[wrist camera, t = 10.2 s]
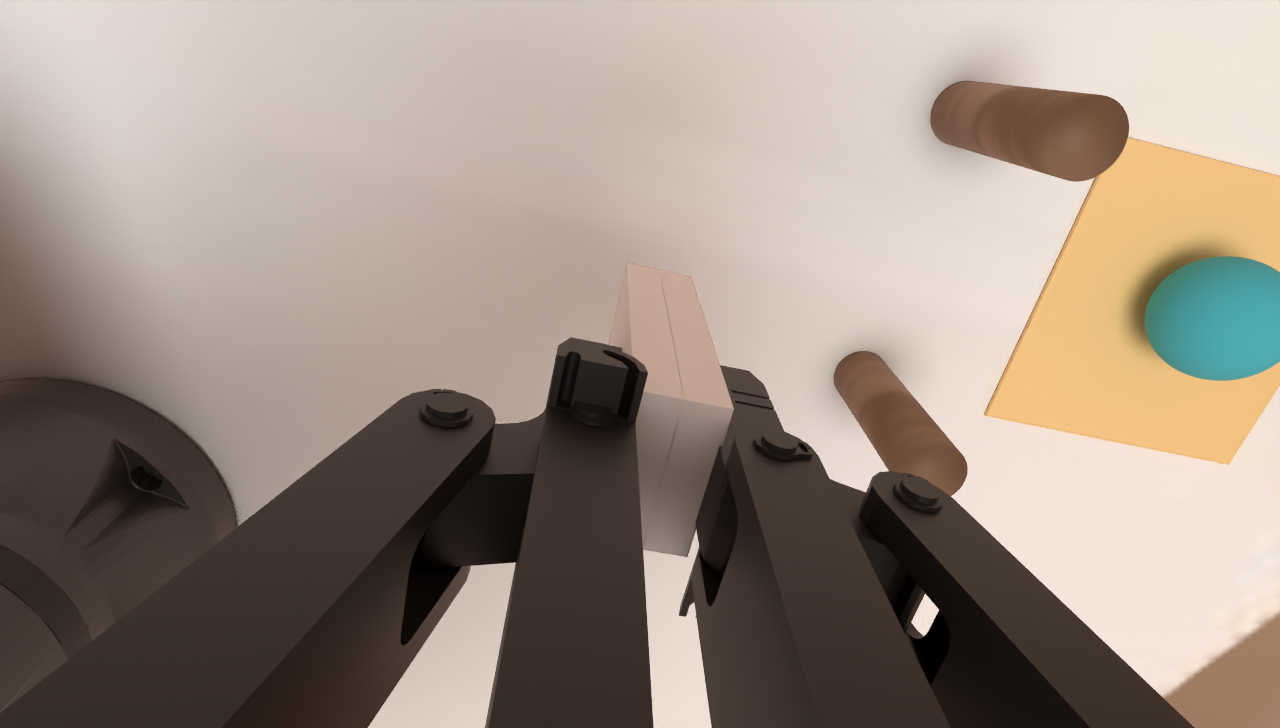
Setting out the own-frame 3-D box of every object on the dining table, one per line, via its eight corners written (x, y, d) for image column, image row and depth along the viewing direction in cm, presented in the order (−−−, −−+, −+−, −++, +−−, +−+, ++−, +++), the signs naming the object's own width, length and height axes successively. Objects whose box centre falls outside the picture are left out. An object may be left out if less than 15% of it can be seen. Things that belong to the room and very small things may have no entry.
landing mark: (1225, 462, 39) (1228, 464, 38) (984, 414, 37) (986, 416, 37) (1390, 205, 33) (1395, 206, 33) (1116, 134, 31) (1119, 135, 31)
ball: (1279, 417, 30) (1134, 373, 32) (1237, 373, 35) (1113, 337, 36) (1359, 294, 28) (1198, 253, 29) (1303, 265, 33) (1167, 232, 34)
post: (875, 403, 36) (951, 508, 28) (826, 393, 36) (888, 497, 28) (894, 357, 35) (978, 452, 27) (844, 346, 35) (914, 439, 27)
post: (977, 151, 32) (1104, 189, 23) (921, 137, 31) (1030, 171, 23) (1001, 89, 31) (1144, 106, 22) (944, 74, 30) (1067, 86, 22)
